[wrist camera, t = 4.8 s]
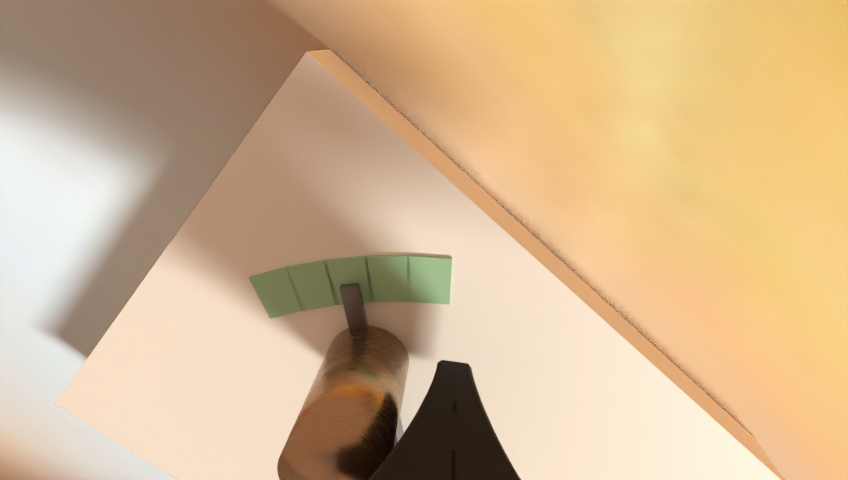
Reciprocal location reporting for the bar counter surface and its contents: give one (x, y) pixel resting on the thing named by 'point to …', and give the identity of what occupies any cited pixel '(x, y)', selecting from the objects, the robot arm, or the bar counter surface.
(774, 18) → the bar counter surface
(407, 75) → the bar counter surface
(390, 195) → the board
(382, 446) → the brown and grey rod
